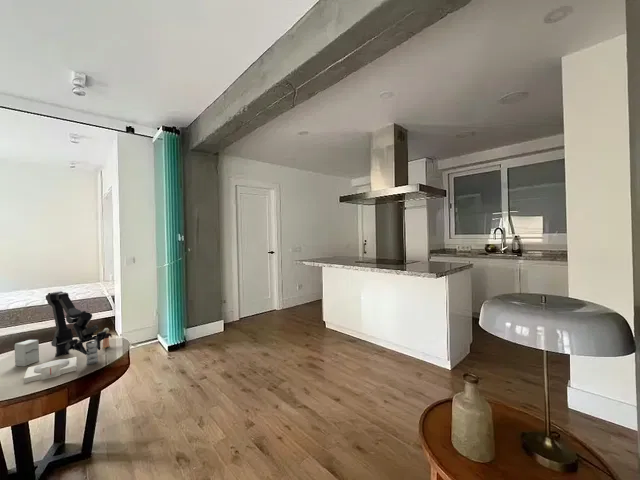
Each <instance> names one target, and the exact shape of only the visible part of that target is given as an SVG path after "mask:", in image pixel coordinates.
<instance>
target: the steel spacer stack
mask: <svg viewBox="0 0 640 480" xmlns="http://www.w3.org/2000/svg"><path fill="white" fill-rule="evenodd" d="M85 347H86V348H85V350H86V352H87V355H86V365H88V366H92V365H95V364H97V363H98V362H99V360H98V359H99V358H98V357H99V356H98V353H99V352H98V349H97V341H95V340H91V341H88V342H85Z"/></svg>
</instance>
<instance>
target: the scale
mask: <svg viewBox="0 0 640 480" xmlns="http://www.w3.org/2000/svg"><path fill="white" fill-rule="evenodd" d="M77 361H78V360H77V356H74V357H70V358H69V357H68V358H61V359H55V360H50V361H46V362H43V363H40V364H37V365H32V366H29V367H27V369H26V372H25V374H24V377H23V384H27V383H30V382H34V381H38V380H42V381H44V380H48V379H51V378H55V377H59V376H61V375H63V374H67V373H72V372H76V371H77V364H78V363H77Z"/></svg>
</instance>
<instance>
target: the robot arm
mask: <svg viewBox="0 0 640 480" xmlns="http://www.w3.org/2000/svg"><path fill="white" fill-rule="evenodd" d="M69 296H70V295H69V292H63V291H61V290H60V291H53V292H48V293H47V295H46V296H45V300H46V301H47V305H49V306H50V307H51V308H52V314H53V318H54V323H55V328H56V329H55V332H54V334H53V339H52V341H51V342H50V344H51V347H55V355H54V357H60V356H64V355H69V354H70V351H71V350H72V351H77V352H79V353H82V354H84V355H87V352H86V348H85V346H84V345H83V343H84V344H85V343H87V342H90V341H97V351H101V342H102V341H103V339H104V338H105V337H106V335H107V333H106V331H103V330H102V331H99V329H100V327H99V326H98V325H97V324H95V325H93V326H92V327H88V325H89V323H90V321H91V320H92V318H93V314H92V313H91V312H87V311H86V310H83V311H81V310H80V309H78V308H77V307H76V306H75V305H74V303H73V301H72V300H71V298H70V297H69ZM65 314H66V316H65ZM67 324H69V325H72V324H73V325H72V328H69V327H68V326H67ZM72 331H74V332H75V333H76V336H75V337H76V338H75V339H74V334H73V332H72ZM97 331H98V332H97ZM96 332H97V334H96V335H95V333H96ZM101 340H102V341H101Z"/></svg>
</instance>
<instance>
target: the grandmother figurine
mask: <svg viewBox="0 0 640 480" xmlns="http://www.w3.org/2000/svg"><path fill="white" fill-rule="evenodd" d="M102 331H106V333H107V335H106V337H105V338H104V339H103V340H101V341H100V342H102V350H103V349H104V350H105V349H106V348H109V347H111V344H110V338H113V335H112V334H111V333H110V332H109V331H110V329H109V328H108V327H104V329H103V330H102Z"/></svg>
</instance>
